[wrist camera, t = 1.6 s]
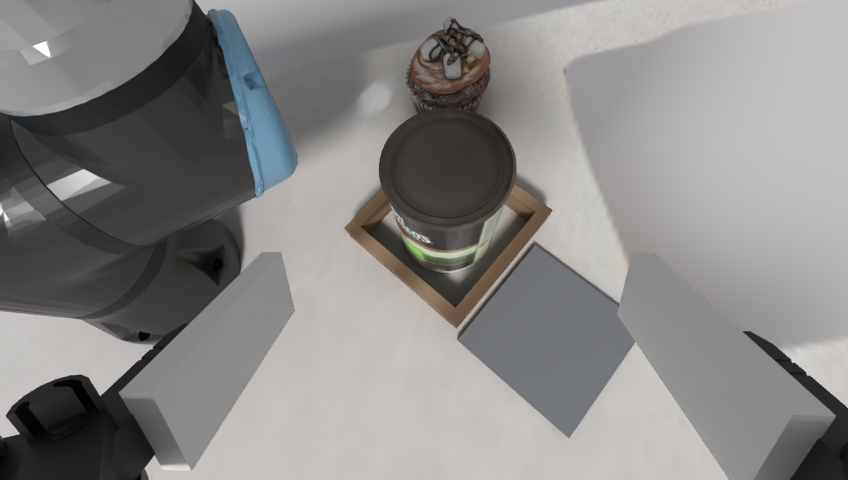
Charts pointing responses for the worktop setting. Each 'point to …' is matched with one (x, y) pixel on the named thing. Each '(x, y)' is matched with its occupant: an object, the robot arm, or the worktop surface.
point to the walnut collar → (360, 232)
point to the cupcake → (449, 70)
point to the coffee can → (447, 185)
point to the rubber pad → (550, 339)
